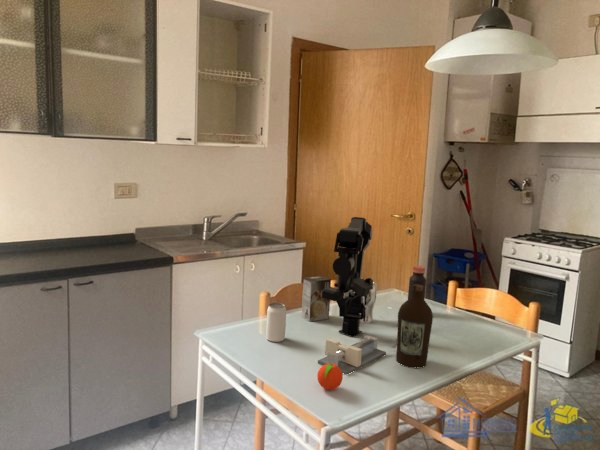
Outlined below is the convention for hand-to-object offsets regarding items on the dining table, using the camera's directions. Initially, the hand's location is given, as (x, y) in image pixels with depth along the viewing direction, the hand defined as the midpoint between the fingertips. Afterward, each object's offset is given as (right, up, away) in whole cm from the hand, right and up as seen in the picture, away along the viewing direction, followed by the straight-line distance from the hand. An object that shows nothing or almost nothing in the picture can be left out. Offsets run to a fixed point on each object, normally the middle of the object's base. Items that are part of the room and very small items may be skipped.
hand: (344, 315), depth 160 cm
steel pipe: (+2, -13, -4) cm, 14 cm away
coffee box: (-8, -7, +33) cm, 35 cm away
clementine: (-6, -16, -25) cm, 31 cm away
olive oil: (+21, -14, -4) cm, 26 cm away
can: (-23, -10, +9) cm, 26 cm away
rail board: (+2, -13, -4) cm, 14 cm away
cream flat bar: (-1, -12, -9) cm, 15 cm away
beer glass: (+11, -9, +34) cm, 37 cm away
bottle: (+34, -8, +46) cm, 58 cm away
